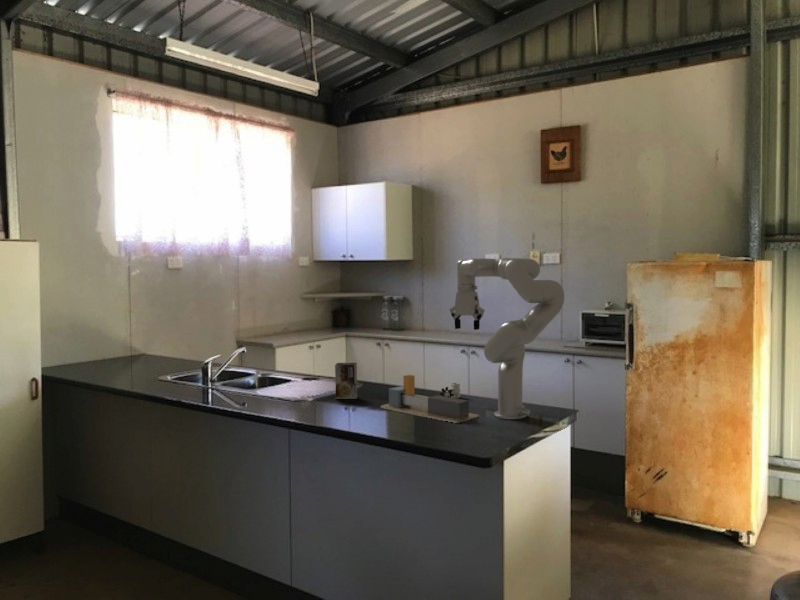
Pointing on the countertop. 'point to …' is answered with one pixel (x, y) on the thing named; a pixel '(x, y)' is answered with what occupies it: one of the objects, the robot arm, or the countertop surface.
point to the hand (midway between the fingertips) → (467, 329)
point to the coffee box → (346, 380)
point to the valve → (452, 391)
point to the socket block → (396, 396)
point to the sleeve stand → (439, 409)
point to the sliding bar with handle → (412, 394)
